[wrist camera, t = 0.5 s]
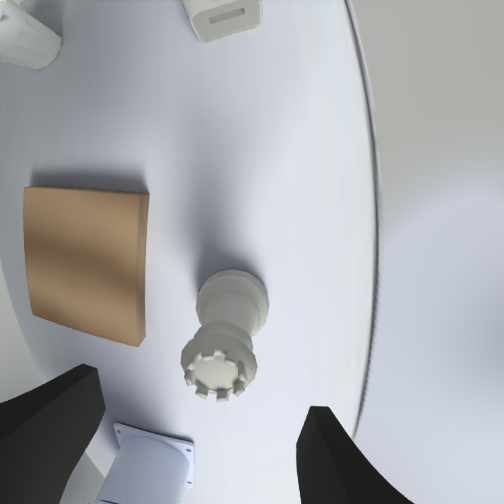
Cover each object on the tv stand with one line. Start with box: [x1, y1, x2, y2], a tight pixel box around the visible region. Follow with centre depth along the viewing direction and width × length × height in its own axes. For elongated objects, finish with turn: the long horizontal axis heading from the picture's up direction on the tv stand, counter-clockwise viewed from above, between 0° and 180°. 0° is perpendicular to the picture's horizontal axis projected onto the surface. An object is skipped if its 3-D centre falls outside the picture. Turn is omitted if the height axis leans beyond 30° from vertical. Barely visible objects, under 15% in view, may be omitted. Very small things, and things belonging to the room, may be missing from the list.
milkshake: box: [0, 0, 62, 69], centre depth 9 cm, size 4×5×10 cm
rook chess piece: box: [181, 269, 269, 402], centre depth 15 cm, size 4×4×8 cm
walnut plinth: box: [23, 186, 149, 347], centre depth 17 cm, size 10×10×2 cm
